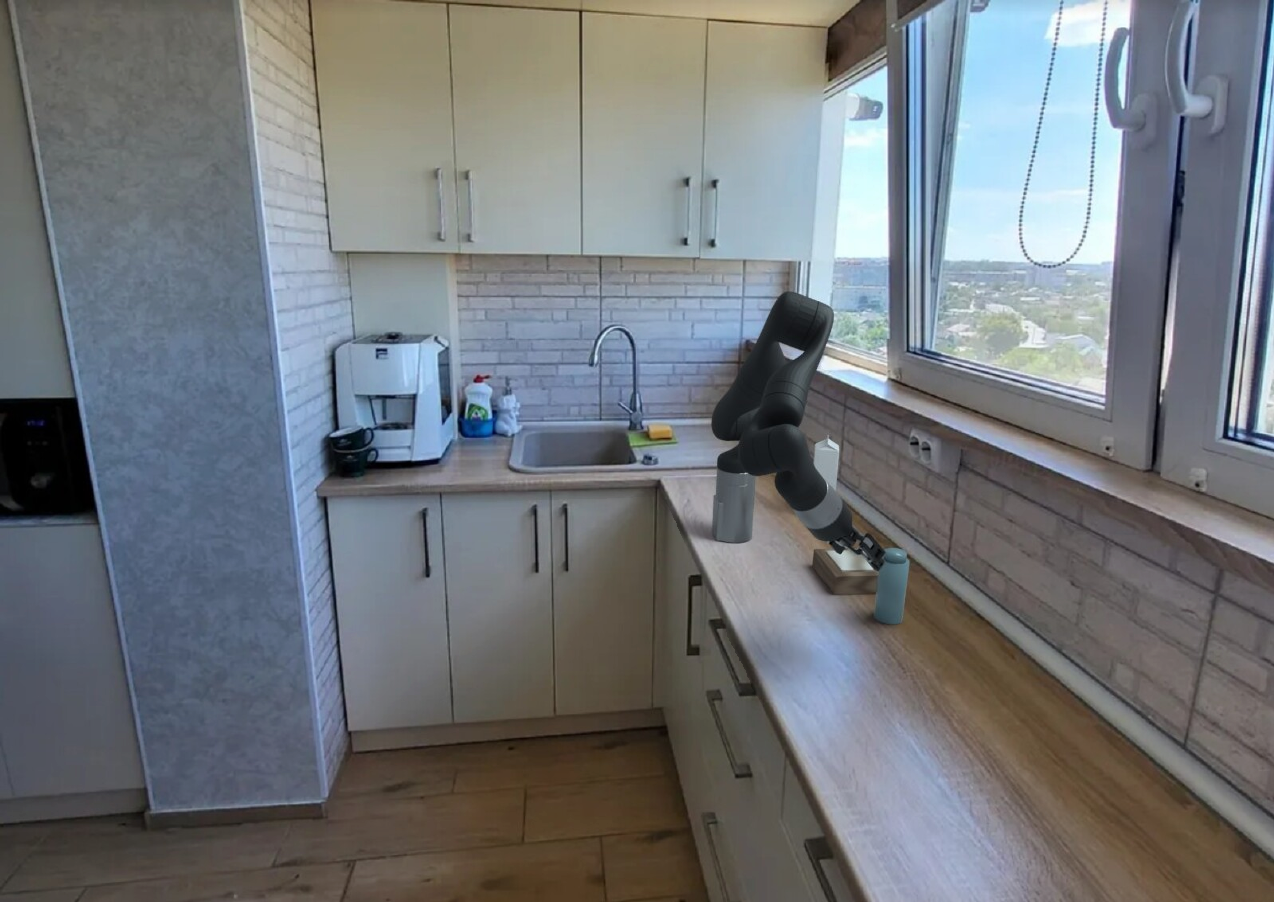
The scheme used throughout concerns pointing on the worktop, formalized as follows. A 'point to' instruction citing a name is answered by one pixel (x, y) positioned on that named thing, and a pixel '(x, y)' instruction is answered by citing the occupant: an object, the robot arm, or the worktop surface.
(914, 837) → the worktop surface
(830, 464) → the milk
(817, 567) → the plinth
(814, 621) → the worktop surface
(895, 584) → the blue capped bottle
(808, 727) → the worktop surface
